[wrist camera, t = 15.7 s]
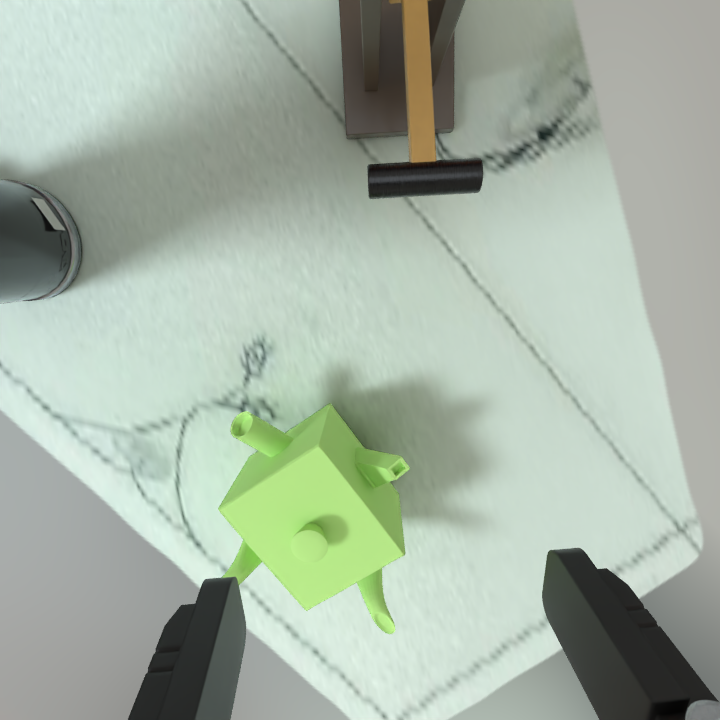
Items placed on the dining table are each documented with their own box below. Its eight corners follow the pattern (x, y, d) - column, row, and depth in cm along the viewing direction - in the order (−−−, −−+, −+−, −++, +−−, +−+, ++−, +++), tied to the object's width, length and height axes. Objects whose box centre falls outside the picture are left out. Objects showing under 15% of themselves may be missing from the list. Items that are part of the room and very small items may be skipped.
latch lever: (474, 202, 20) (487, 177, 18) (369, 208, 21) (368, 184, 18) (458, -54, 21) (469, -110, 19) (358, -46, 21) (356, -101, 19)
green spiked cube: (389, 547, 42) (394, 651, 31) (246, 527, 42) (201, 624, 31) (415, 404, 38) (431, 466, 27) (257, 382, 38) (211, 435, 27)
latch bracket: (451, 132, 33) (506, 50, 19) (347, 139, 33) (330, 62, 20) (451, -23, 30) (514, -239, 17) (339, -14, 31) (313, -220, 17)
